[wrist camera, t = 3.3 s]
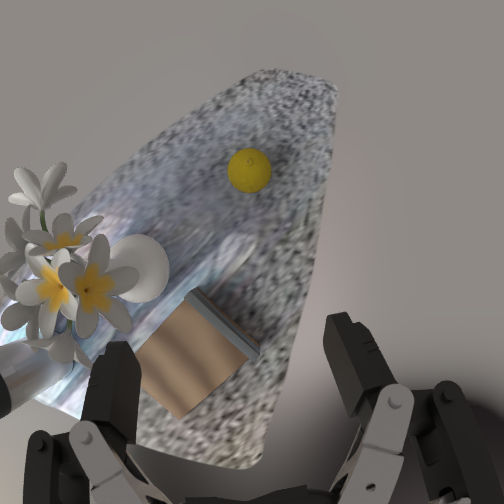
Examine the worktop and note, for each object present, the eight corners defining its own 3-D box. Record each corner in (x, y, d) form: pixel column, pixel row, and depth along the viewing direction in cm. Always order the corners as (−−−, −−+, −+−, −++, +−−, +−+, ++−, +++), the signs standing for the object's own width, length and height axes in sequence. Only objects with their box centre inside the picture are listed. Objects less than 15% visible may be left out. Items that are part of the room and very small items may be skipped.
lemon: (248, 152, 39) (247, 130, 31) (278, 177, 39) (283, 160, 31) (222, 180, 40) (213, 163, 32) (251, 206, 39) (250, 195, 31)
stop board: (181, 415, 40) (174, 429, 35) (125, 364, 40) (113, 375, 35) (259, 344, 39) (259, 355, 35) (197, 286, 40) (189, 291, 35)
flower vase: (145, 188, 40) (32, 125, 15) (212, 294, 40) (145, 359, 15) (84, 238, 40) (-42, 229, 15) (143, 339, 40) (40, 418, 15)
